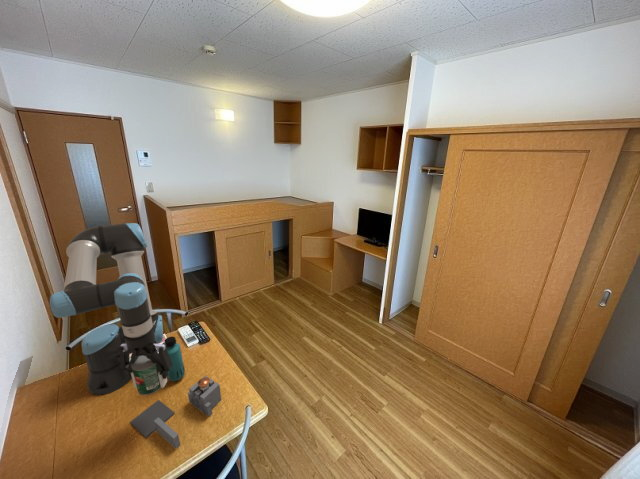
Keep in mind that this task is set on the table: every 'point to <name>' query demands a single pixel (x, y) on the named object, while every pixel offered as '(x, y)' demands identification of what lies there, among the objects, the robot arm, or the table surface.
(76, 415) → the table surface
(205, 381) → the plunger
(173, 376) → the beverage bottle
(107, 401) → the table surface
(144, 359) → the canned tomato
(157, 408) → the mat
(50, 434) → the table surface
